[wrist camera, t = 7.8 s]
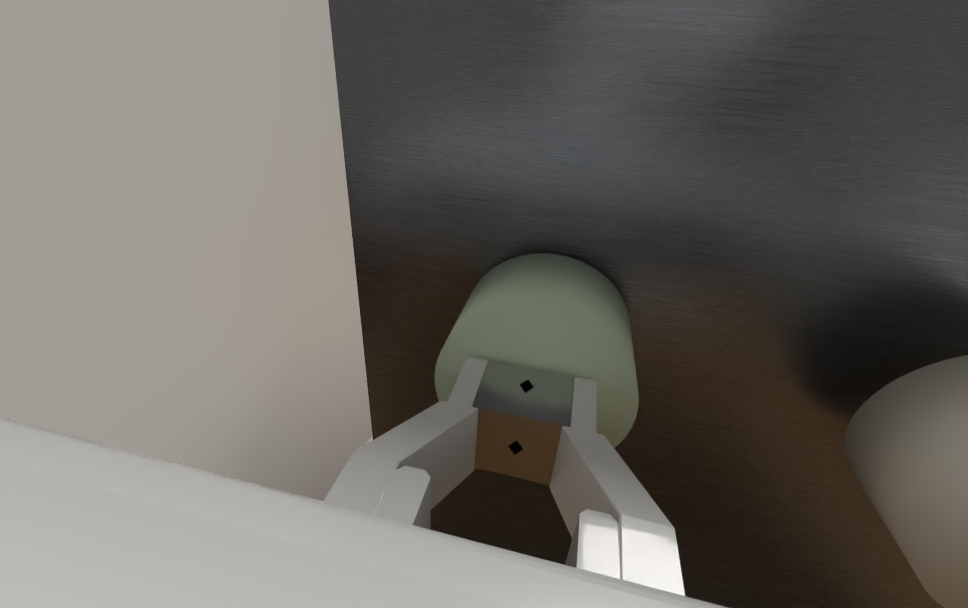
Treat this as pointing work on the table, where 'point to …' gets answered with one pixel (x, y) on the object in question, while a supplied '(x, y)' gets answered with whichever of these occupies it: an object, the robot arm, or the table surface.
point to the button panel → (678, 246)
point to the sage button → (550, 332)
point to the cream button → (920, 471)
